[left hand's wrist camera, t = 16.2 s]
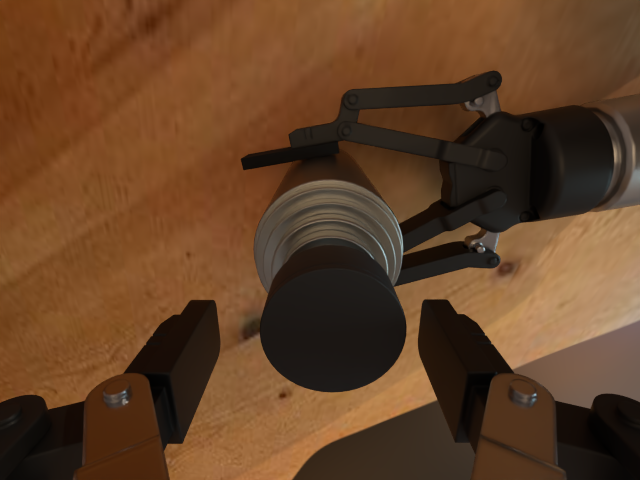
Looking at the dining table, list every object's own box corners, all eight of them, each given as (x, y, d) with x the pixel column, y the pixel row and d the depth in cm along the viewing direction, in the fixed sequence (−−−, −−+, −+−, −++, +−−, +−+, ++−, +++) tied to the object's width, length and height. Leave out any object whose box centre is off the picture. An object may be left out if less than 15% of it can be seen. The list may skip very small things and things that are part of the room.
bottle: (314, 237, 33) (305, 441, 12) (269, 176, 31) (171, 299, 10) (378, 196, 31) (484, 349, 11) (335, 129, 29) (369, 166, 9)
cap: (417, 312, 12) (434, 346, 10) (319, 373, 13) (319, 413, 11) (345, 218, 11) (350, 238, 9) (242, 291, 12) (229, 323, 10)
